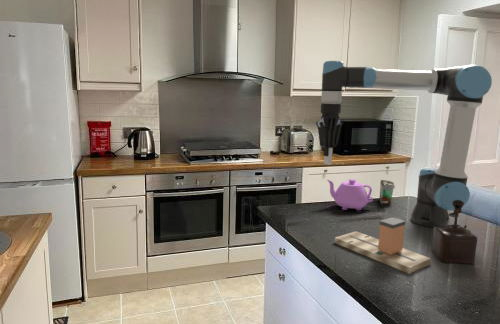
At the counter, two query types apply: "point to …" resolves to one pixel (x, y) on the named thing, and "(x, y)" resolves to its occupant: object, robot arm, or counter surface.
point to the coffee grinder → (454, 241)
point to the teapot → (350, 194)
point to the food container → (386, 191)
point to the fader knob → (391, 235)
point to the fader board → (369, 248)
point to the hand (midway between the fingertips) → (327, 164)
